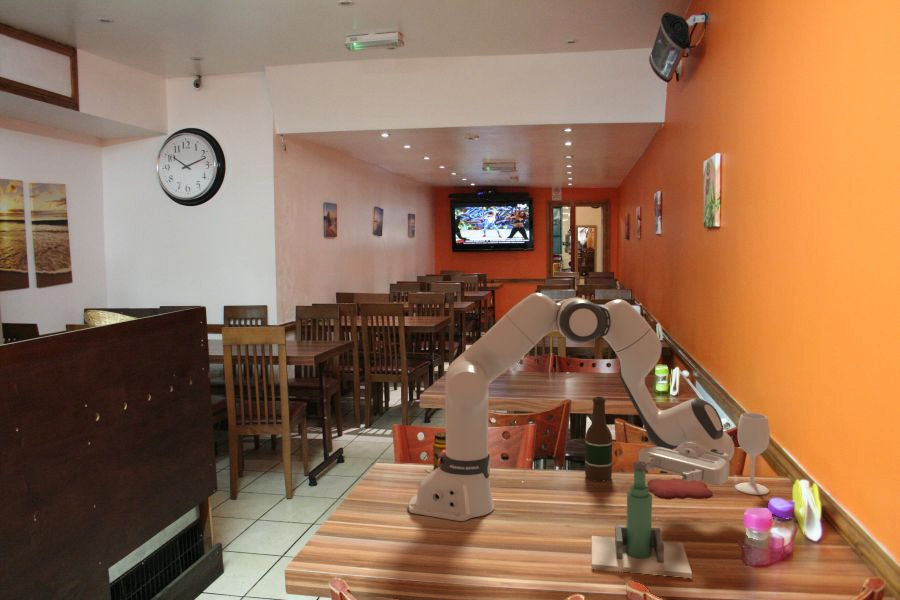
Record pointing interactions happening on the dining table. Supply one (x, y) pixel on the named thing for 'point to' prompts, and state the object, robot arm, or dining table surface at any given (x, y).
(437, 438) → the condiment
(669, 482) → the patty
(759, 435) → the wineglass
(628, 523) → the bottle
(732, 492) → the dining table surface
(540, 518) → the dining table surface
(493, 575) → the dining table surface
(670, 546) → the bottle stand
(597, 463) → the beer bottle
